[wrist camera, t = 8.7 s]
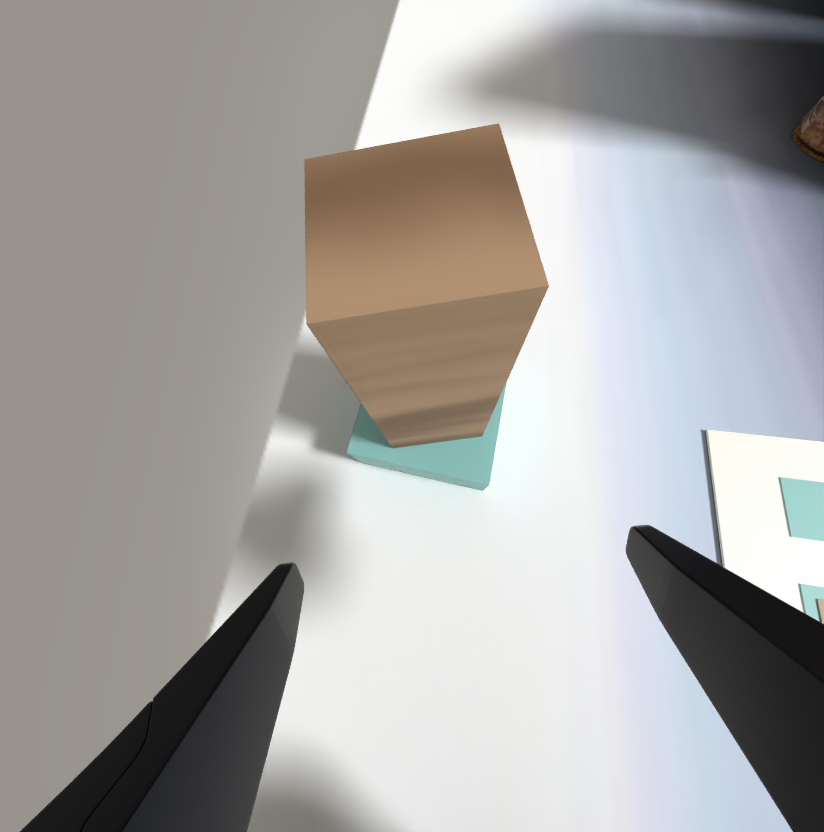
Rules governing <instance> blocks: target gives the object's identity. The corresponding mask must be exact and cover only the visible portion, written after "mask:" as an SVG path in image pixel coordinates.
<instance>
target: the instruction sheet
mask: <svg viewBox="0 0 824 832" xmlns="http://www.w3.org/2000/svg"><path fill="white" fill-rule="evenodd" d="M706 437H707V445H708V453H709V461H710V469H711V477H712V485H713V493H714V501H715V509H716V517H717V525H718V533H719V541H720V549H721V557H722V565H723V567H724V568H726V569H728V570H729V571H731V572H733V573H735V574H736V575H738V576H740V577H742V578H744V579H745V580H747V581H749V582H751V583H752V584H754V585H756V586H758V587H759V588H761V589H763V590H765V591H766V592H768V593H770V594H772V595H773V596H775V597H777V598H779V599H780V600H782V601H784V602H786V603H788V604H789V605H791V606H793V607H795V608H796V609H798V610H800V611H802V612H803V613H805V614H807V615H809V616H810V617H812V618H814V619H816V620H817V621H819V622H821V623H823V624H824V442H818V441H809V440H799V439H790V438H781V437H771V436H762V435H752V434H743V433H734V432H724V431H715V430H706Z"/></svg>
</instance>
